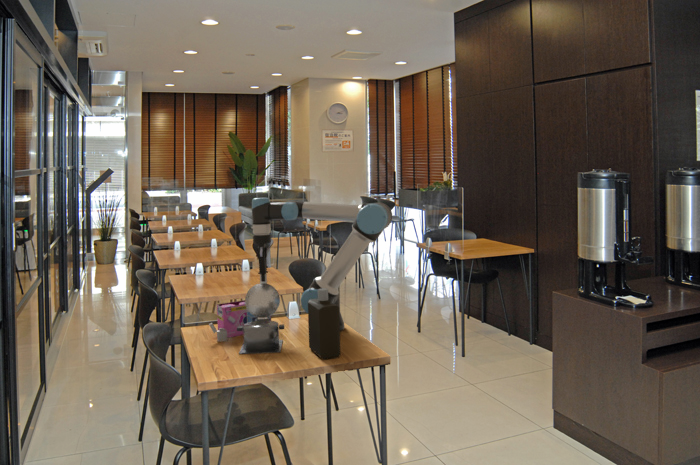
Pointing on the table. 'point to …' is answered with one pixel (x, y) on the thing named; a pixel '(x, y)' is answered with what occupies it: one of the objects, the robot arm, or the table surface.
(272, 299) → the lid
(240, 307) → the gum box
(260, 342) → the pot
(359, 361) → the table surface
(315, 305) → the bottle
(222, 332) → the lighter
